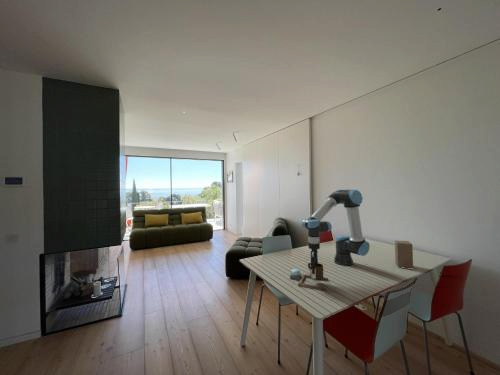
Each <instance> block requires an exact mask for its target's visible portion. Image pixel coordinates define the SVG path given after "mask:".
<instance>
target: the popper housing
mask: <svg viewBox="0 0 500 375" xmlns="http://www.w3.org/2000/svg"><path fill="white" fill-rule="evenodd" d="M302 276H303V273H301V272H300V276H293V275H292V272H291V273H290V275H289V279H290V280H291V279H292V280H297V281H300V279H301V277H302Z"/></svg>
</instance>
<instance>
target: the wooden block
mask: <svg viewBox="0 0 500 375" xmlns="http://www.w3.org/2000/svg"><path fill="white" fill-rule="evenodd" d="M413 248H414V247H413V243H412V242H410V241H409V240H408V241H407V240H397V239H396V240H394V253H395V254H394V259H395V260H394V262H395V263H394V264H395V265H396V267H397V266H398V267H404V268H403V269H405V268H413V269H414V257H413V256H414V254H413V253H414V252H413V251H414V250H413ZM398 267H397V268H398Z"/></svg>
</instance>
